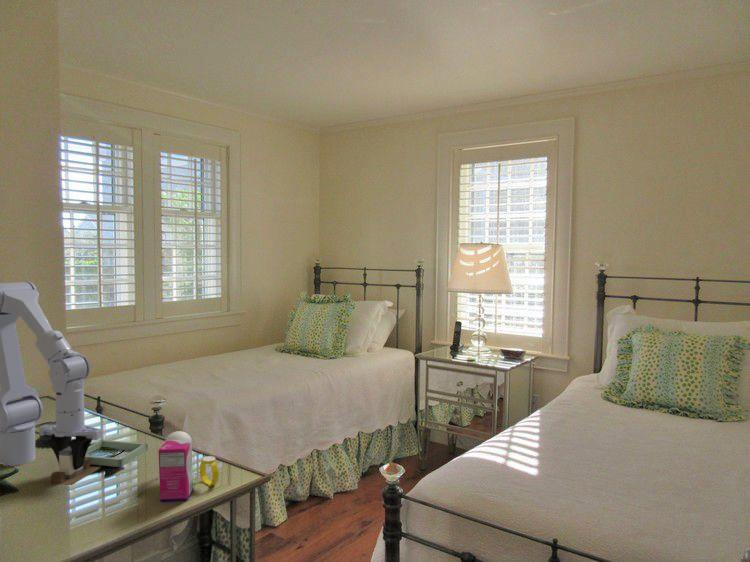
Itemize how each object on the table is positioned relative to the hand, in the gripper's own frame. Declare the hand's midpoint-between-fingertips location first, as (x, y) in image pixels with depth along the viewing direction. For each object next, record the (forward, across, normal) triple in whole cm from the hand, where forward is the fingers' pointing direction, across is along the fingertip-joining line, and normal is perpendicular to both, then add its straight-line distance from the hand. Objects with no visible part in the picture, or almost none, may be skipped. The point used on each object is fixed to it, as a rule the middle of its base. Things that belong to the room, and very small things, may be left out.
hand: (71, 467), depth 128 cm
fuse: (+2, 0, 0) cm, 2 cm away
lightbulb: (+3, +24, +4) cm, 25 cm away
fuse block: (+2, 0, 0) cm, 2 cm away
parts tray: (+2, +2, +12) cm, 12 cm away
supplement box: (+3, +28, -4) cm, 28 cm away
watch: (+3, +32, +4) cm, 32 cm away
